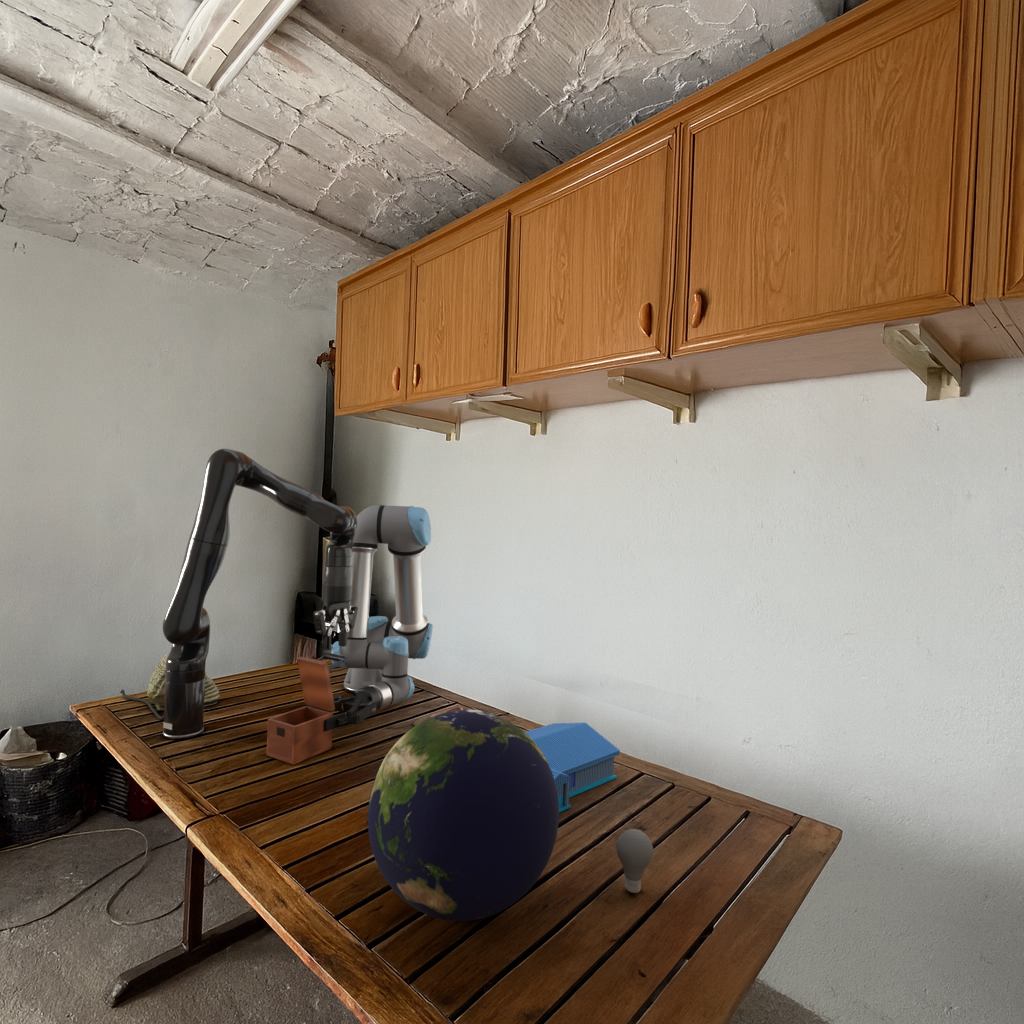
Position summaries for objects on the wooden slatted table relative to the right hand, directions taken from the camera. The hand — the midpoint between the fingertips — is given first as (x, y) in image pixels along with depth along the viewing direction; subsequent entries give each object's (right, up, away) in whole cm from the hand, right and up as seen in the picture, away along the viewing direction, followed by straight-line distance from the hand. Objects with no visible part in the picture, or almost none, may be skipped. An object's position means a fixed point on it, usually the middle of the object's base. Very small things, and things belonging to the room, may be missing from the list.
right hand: (310, 721), depth 159 cm
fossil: (-45, -4, +26) cm, 53 cm away
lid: (+1, +9, 0) cm, 9 cm away
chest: (-2, -7, -3) cm, 7 cm away
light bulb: (+71, -11, -53) cm, 89 cm away
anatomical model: (+30, -8, +20) cm, 37 cm away
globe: (+42, -10, -58) cm, 73 cm away
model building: (+55, -9, -16) cm, 58 cm away
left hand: (+4, +17, +6) cm, 19 cm away
